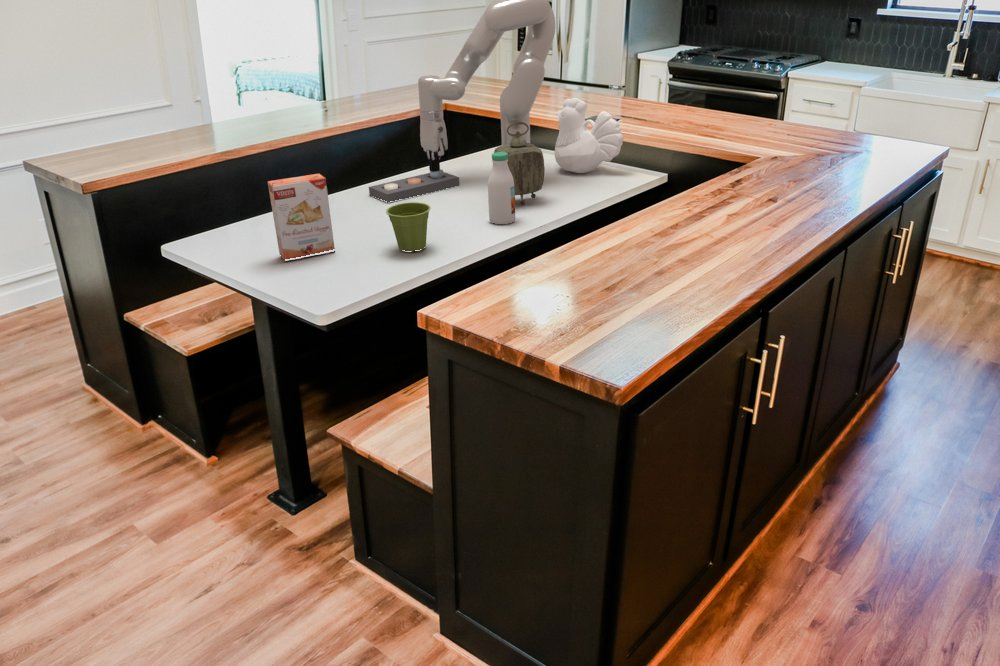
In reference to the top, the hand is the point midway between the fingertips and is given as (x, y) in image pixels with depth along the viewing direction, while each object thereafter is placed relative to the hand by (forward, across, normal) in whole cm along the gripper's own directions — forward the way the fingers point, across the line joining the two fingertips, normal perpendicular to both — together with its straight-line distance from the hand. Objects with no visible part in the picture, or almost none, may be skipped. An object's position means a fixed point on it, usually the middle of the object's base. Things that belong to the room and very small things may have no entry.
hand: (434, 170), depth 267 cm
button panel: (+5, 0, +8) cm, 10 cm away
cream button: (+5, 0, +17) cm, 18 cm away
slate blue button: (+3, 0, 0) cm, 3 cm away
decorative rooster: (+4, -25, -46) cm, 53 cm away
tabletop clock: (+5, -36, -8) cm, 37 cm away
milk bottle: (+5, -46, +8) cm, 47 cm away
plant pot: (+5, -47, +40) cm, 62 cm away
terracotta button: (+5, 0, +8) cm, 10 cm away
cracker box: (+6, -31, +62) cm, 70 cm away
